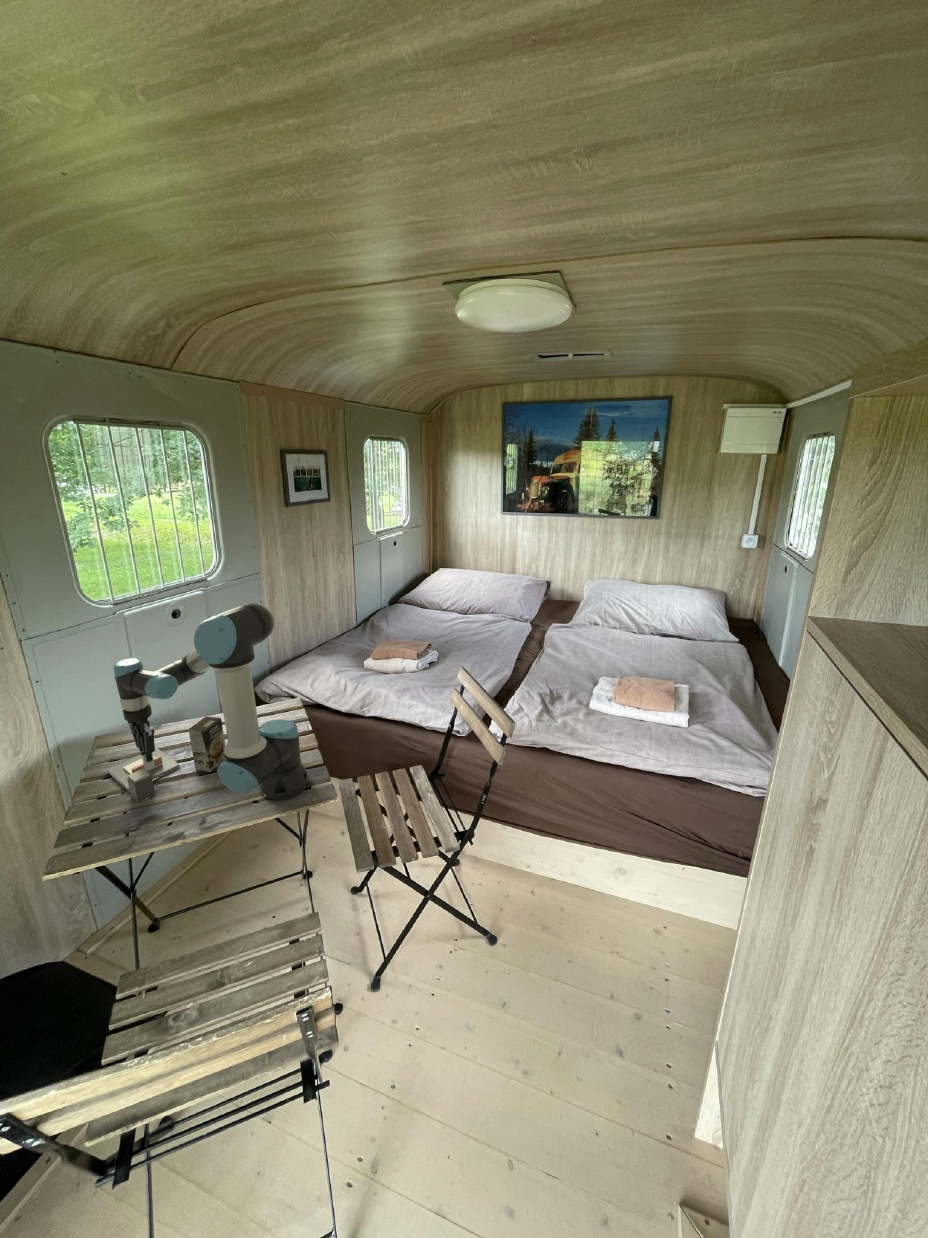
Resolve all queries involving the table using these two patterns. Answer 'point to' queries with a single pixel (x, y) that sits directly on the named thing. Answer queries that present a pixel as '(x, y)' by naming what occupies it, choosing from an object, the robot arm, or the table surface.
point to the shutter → (139, 765)
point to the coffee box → (207, 743)
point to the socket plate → (167, 767)
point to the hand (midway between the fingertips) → (149, 767)
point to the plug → (140, 785)
